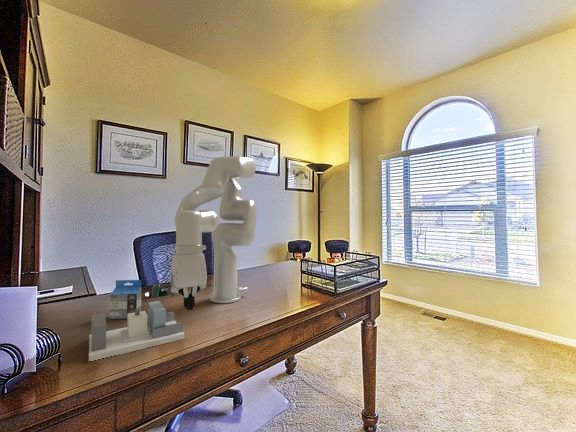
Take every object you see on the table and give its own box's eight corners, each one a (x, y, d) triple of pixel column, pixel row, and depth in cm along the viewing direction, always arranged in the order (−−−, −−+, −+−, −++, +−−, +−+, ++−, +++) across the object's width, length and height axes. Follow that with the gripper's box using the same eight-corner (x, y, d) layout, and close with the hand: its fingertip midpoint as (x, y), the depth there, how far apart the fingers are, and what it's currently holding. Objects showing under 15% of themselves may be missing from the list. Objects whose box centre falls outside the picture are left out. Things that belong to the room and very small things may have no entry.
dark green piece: (148, 290, 128) (148, 279, 127) (183, 289, 130) (183, 277, 130) (137, 301, 113) (137, 287, 113) (176, 299, 116) (176, 286, 116)
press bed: (173, 319, 89) (173, 300, 89) (183, 331, 79) (183, 311, 79) (91, 335, 76) (91, 314, 76) (91, 353, 67) (91, 328, 67)
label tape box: (108, 319, 92) (108, 282, 92) (115, 315, 96) (115, 279, 96) (136, 319, 93) (136, 282, 92) (141, 314, 97) (141, 279, 96)
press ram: (159, 322, 85) (159, 300, 85) (165, 333, 78) (165, 309, 78) (148, 324, 83) (148, 302, 83) (153, 335, 76) (153, 311, 76)
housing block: (145, 327, 81) (145, 305, 81) (147, 333, 77) (147, 310, 77) (127, 331, 78) (127, 308, 78) (128, 337, 74) (128, 313, 74)
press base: (172, 322, 90) (172, 317, 90) (184, 338, 78) (184, 333, 78) (89, 339, 77) (89, 334, 77) (88, 362, 66) (88, 355, 66)
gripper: (208, 247, 93) (208, 301, 93) (160, 250, 85) (160, 310, 85) (216, 249, 87) (216, 307, 87) (165, 253, 78) (165, 317, 79)
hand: (189, 308), depth 86 cm, fingers closed
